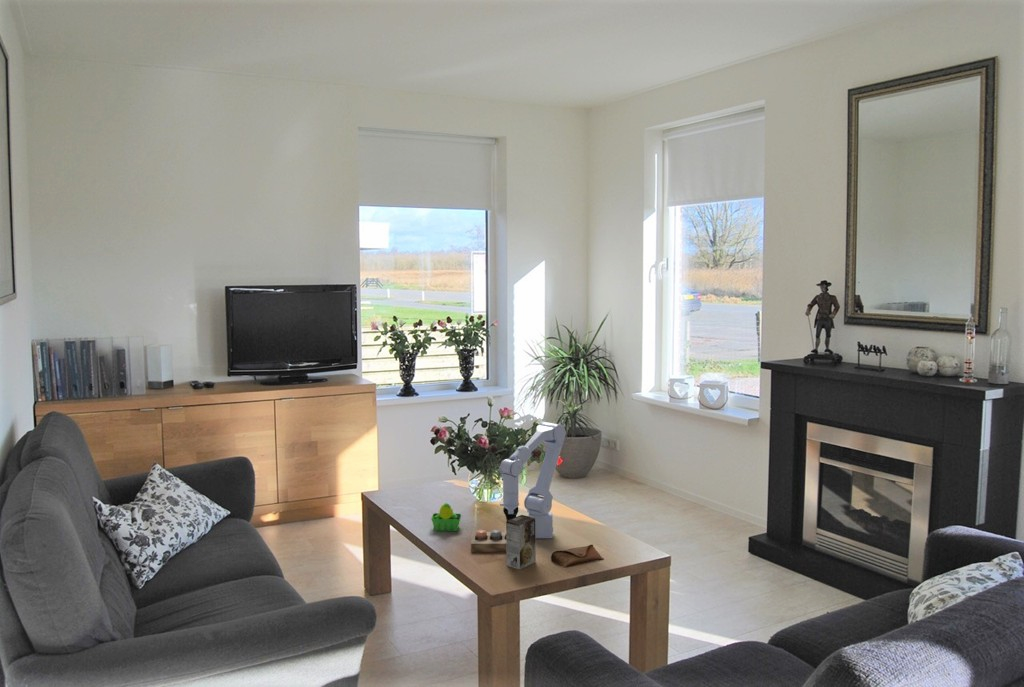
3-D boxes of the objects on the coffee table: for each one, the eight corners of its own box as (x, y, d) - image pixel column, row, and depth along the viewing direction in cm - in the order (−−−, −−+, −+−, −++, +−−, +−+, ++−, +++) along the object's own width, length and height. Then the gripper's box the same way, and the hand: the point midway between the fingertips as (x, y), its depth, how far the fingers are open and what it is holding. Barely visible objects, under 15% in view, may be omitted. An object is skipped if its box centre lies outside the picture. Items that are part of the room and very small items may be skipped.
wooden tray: (519, 539, 308) (519, 531, 308) (520, 551, 295) (520, 543, 295) (472, 539, 308) (472, 531, 308) (471, 551, 295) (471, 543, 295)
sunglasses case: (563, 568, 279) (558, 549, 281) (554, 572, 284) (549, 553, 287) (606, 558, 288) (600, 540, 290) (596, 563, 293) (590, 545, 296)
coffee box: (521, 558, 289) (521, 514, 287) (536, 562, 285) (536, 517, 283) (505, 565, 282) (505, 520, 280) (520, 570, 278) (519, 524, 276)
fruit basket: (461, 525, 325) (461, 498, 324) (459, 533, 316) (459, 504, 315) (433, 525, 325) (433, 498, 324) (430, 532, 317) (430, 504, 315)
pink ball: (486, 539, 304) (486, 529, 303) (486, 543, 300) (486, 533, 299) (476, 539, 304) (476, 529, 303) (475, 543, 300) (475, 533, 299)
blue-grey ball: (501, 539, 304) (501, 529, 303) (501, 543, 300) (501, 533, 299) (490, 539, 304) (490, 529, 303) (490, 543, 300) (490, 533, 299)
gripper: (500, 486, 307) (500, 521, 309) (499, 497, 293) (499, 533, 294) (518, 486, 307) (518, 520, 309) (519, 497, 293) (519, 533, 294)
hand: (510, 527), depth 301 cm, fingers closed
